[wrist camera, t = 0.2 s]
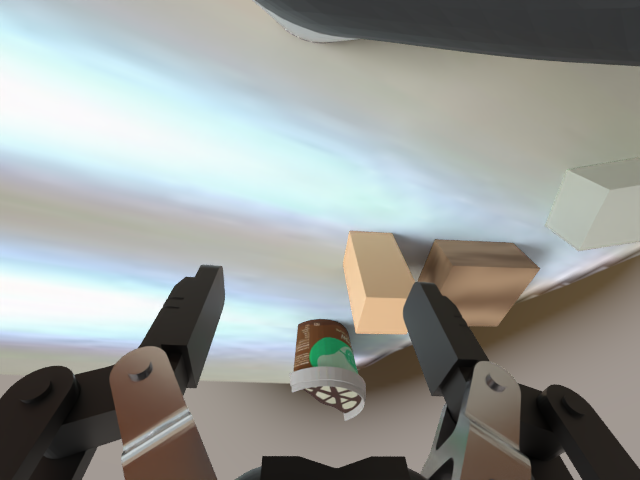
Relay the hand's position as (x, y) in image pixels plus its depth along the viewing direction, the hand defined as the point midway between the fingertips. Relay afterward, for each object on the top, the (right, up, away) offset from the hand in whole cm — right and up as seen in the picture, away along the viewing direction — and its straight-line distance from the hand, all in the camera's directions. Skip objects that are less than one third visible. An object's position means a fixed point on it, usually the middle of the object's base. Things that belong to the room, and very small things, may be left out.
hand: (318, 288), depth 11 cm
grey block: (+29, +7, +18) cm, 35 cm away
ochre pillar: (+6, +1, +21) cm, 22 cm away
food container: (+2, -12, +30) cm, 33 cm away
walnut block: (+18, -2, +24) cm, 31 cm away
